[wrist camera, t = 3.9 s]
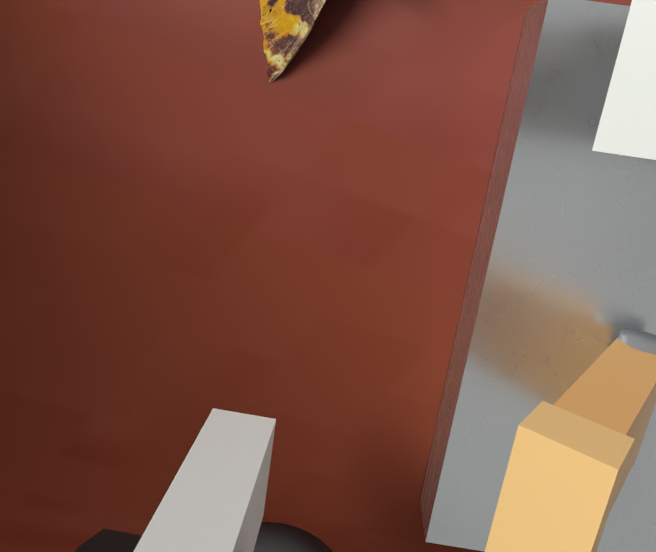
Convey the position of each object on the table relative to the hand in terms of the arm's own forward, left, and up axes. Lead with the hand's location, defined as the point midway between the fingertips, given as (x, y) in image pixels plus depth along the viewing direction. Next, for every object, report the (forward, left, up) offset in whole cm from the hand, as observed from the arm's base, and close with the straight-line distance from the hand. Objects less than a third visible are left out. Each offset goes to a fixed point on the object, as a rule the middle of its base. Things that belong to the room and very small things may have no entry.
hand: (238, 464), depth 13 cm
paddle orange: (+13, 0, -7) cm, 15 cm away
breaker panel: (+13, +2, -10) cm, 16 cm away
